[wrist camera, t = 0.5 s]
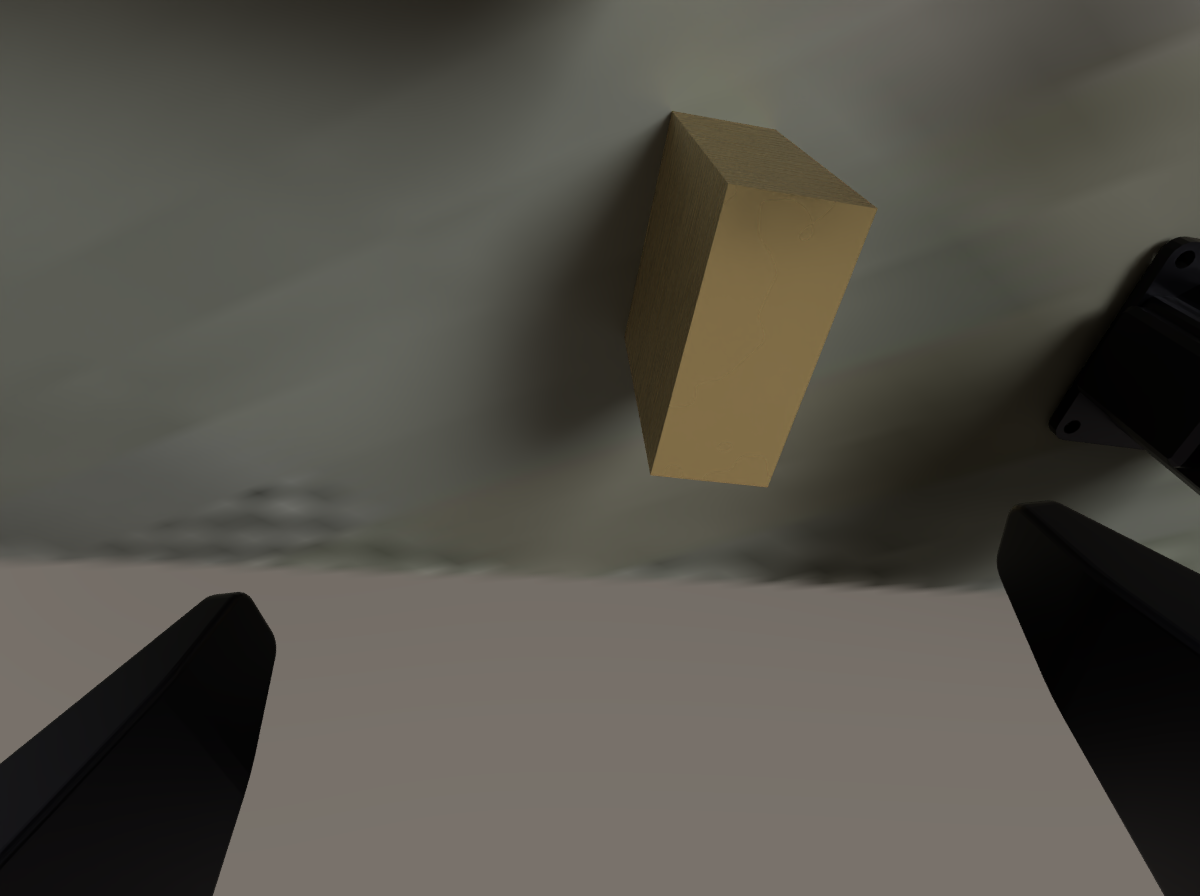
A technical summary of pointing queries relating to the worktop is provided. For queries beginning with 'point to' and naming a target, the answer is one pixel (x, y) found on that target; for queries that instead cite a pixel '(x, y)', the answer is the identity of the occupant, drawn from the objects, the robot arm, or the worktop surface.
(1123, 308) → the robot arm
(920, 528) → the worktop surface
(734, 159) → the wooden rectangular block
